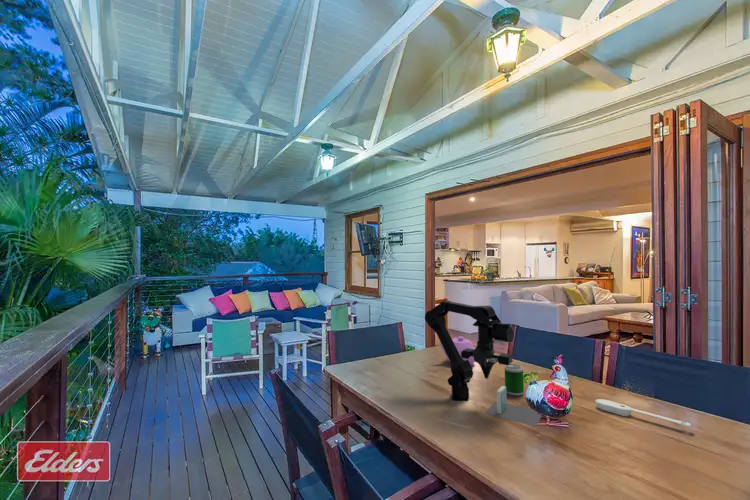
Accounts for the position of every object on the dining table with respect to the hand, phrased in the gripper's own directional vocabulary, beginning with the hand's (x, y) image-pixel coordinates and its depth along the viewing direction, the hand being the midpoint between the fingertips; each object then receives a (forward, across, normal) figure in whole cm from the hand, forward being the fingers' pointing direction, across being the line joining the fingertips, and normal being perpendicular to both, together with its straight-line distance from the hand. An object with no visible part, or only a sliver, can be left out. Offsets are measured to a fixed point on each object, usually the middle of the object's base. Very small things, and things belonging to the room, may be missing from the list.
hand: (486, 378), depth 138 cm
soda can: (+12, +5, +20) cm, 24 cm away
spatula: (+11, +48, +21) cm, 54 cm away
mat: (+11, +10, 0) cm, 15 cm away
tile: (+11, +6, 0) cm, 12 cm away
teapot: (+12, -34, +49) cm, 60 cm away
